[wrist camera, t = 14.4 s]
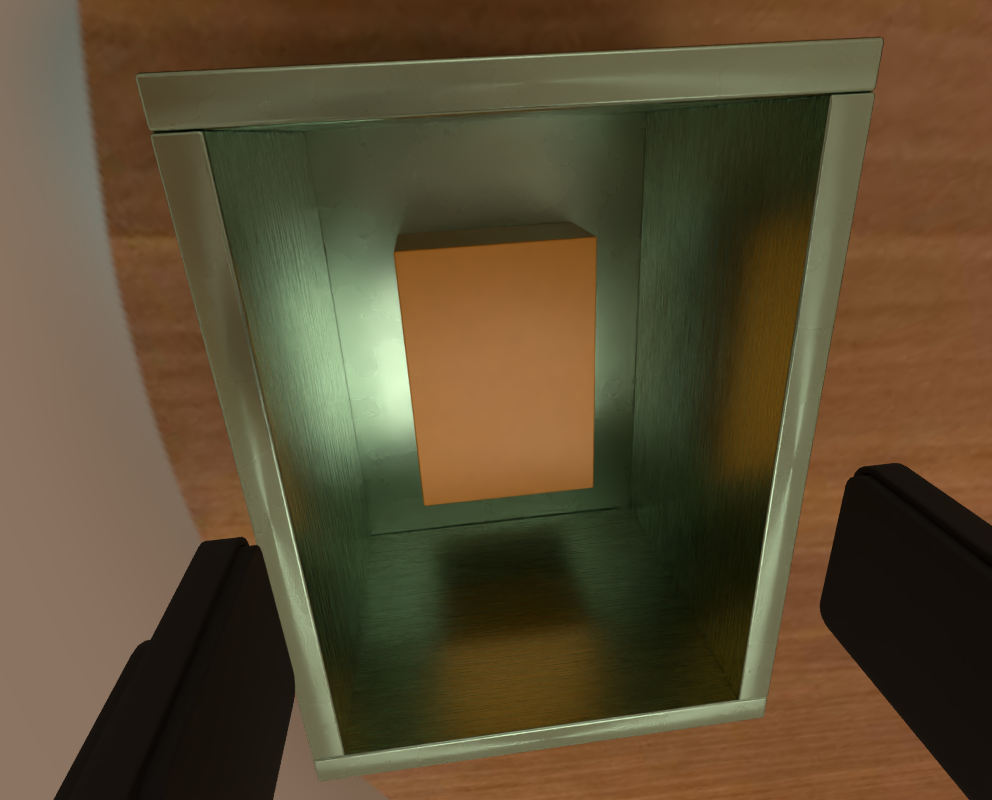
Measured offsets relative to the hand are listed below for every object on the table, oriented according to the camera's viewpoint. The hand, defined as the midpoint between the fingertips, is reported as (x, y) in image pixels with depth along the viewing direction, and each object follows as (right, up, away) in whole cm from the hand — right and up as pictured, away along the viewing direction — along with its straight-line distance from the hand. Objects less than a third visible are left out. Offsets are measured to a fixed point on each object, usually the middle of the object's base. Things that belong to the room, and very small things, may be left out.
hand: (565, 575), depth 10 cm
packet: (-1, +5, +11) cm, 12 cm away
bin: (-1, +5, +11) cm, 12 cm away
